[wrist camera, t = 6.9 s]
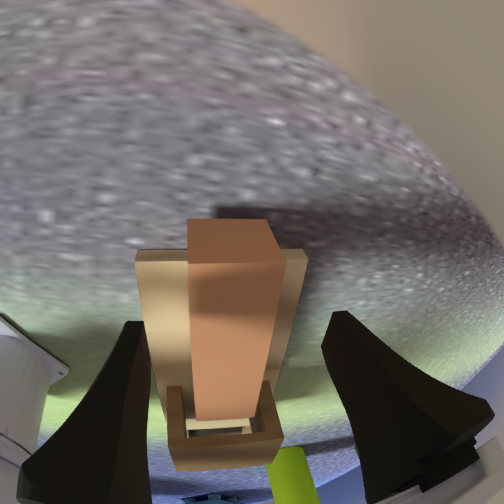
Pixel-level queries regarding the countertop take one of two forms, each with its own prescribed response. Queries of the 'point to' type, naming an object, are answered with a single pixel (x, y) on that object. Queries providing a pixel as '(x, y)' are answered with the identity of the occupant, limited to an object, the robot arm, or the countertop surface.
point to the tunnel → (224, 437)
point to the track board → (178, 329)
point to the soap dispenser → (291, 477)
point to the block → (231, 312)
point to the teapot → (212, 500)
